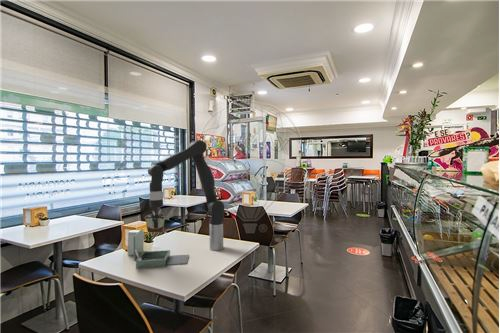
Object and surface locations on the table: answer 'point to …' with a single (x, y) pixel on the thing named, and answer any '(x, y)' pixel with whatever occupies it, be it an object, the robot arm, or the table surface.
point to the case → (148, 254)
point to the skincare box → (132, 241)
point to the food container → (151, 224)
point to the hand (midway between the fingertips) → (157, 226)
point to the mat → (178, 259)
